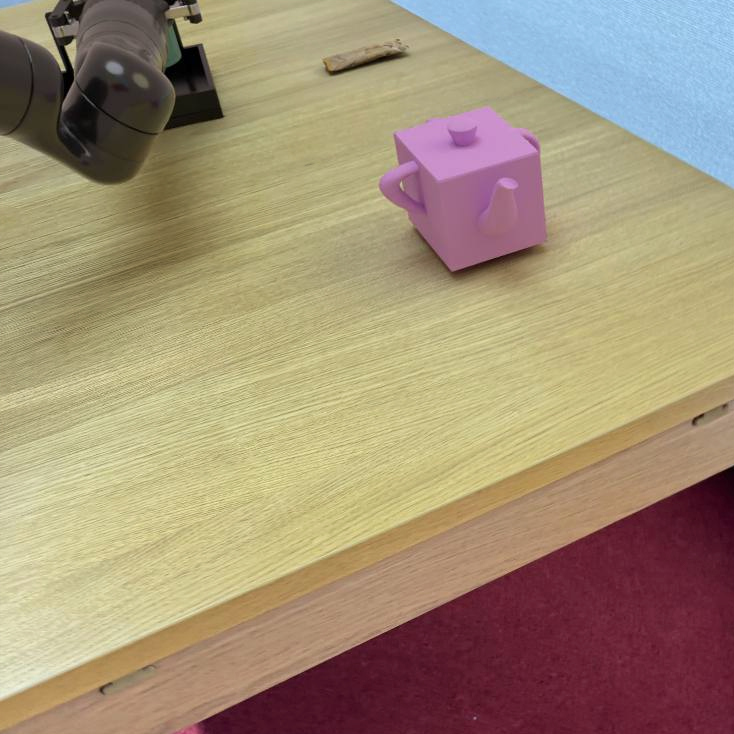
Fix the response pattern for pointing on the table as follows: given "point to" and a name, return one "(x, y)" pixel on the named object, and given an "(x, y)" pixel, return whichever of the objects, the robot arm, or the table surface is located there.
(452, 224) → the teapot
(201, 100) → the dish rack
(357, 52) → the snack bar
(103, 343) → the table surface
